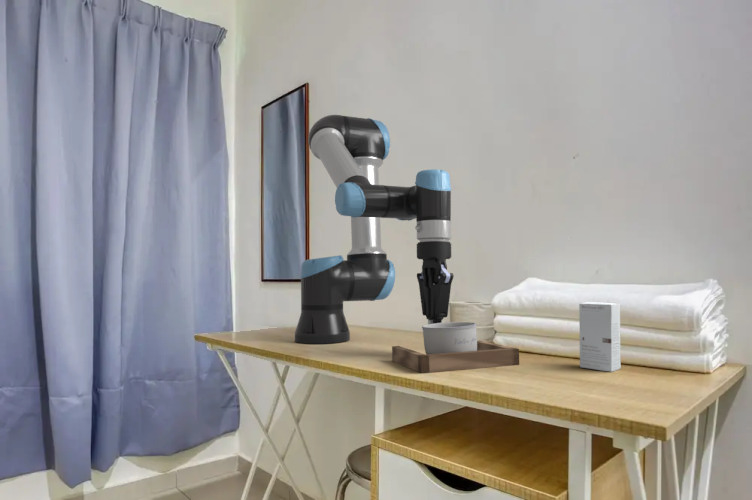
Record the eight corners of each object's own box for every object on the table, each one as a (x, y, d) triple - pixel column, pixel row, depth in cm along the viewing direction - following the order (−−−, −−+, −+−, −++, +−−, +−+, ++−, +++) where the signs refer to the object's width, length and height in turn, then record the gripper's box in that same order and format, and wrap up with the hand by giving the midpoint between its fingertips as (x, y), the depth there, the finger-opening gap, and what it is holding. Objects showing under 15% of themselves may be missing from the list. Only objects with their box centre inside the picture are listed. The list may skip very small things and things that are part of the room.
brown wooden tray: (392, 361, 101) (392, 346, 101) (479, 354, 108) (479, 340, 108) (422, 373, 88) (421, 356, 88) (519, 364, 95) (518, 348, 95)
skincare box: (579, 368, 91) (576, 302, 91) (589, 364, 94) (587, 301, 94) (613, 372, 86) (610, 303, 87) (623, 369, 89) (620, 302, 90)
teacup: (462, 370, 90) (461, 326, 90) (412, 365, 96) (411, 324, 96) (492, 359, 101) (491, 320, 101) (445, 355, 107) (445, 318, 108)
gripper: (406, 242, 111) (407, 346, 110) (431, 239, 99) (433, 355, 98) (435, 243, 114) (436, 344, 113) (463, 239, 102) (465, 353, 101)
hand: (435, 349), depth 105 cm, fingers closed
